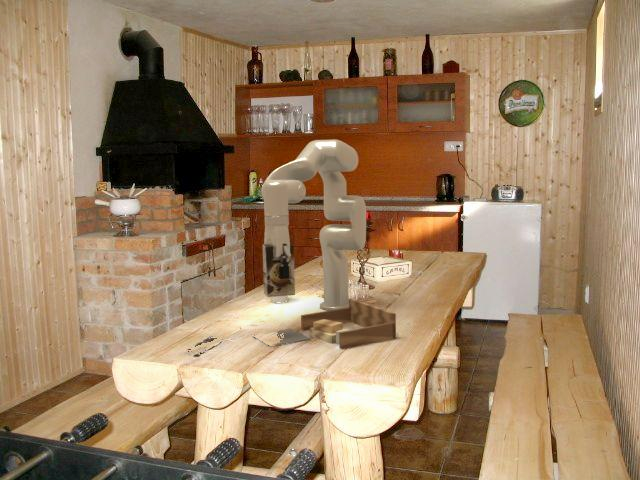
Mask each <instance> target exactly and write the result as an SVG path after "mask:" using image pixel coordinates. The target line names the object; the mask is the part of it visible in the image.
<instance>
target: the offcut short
mask: <svg viewBox="0 0 640 480" xmlns="http://www.w3.org/2000/svg"><path fill="white" fill-rule="evenodd" d="M343 325H344V323H341V322H336V321H331V320H326V319H322V320H319V321H316V322H313V330H317V331H321V332H326V333H331V334H334V333H336V331H339V330H342V329H344V328H343Z"/></svg>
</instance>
